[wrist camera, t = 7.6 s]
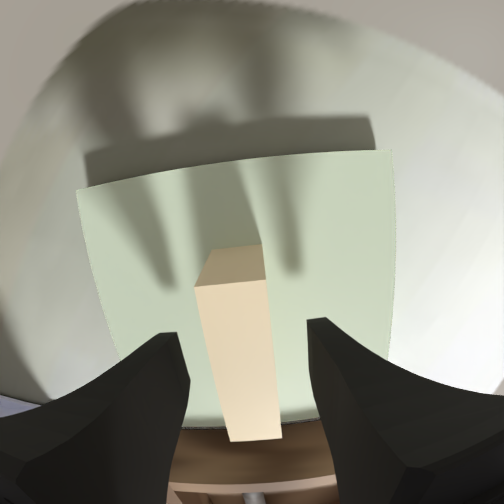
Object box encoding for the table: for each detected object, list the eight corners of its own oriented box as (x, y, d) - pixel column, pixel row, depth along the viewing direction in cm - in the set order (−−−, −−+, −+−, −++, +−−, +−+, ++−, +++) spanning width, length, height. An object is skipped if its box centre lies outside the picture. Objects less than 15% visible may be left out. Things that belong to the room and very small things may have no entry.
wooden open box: (208, 509, 19) (204, 546, 15) (164, 428, 15) (149, 479, 12) (350, 497, 18) (358, 534, 14) (369, 410, 15) (389, 461, 11)
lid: (156, 403, 15) (130, 474, 10) (96, 186, 12) (18, 203, 7) (370, 384, 15) (402, 454, 10) (373, 151, 12) (444, 146, 7)
